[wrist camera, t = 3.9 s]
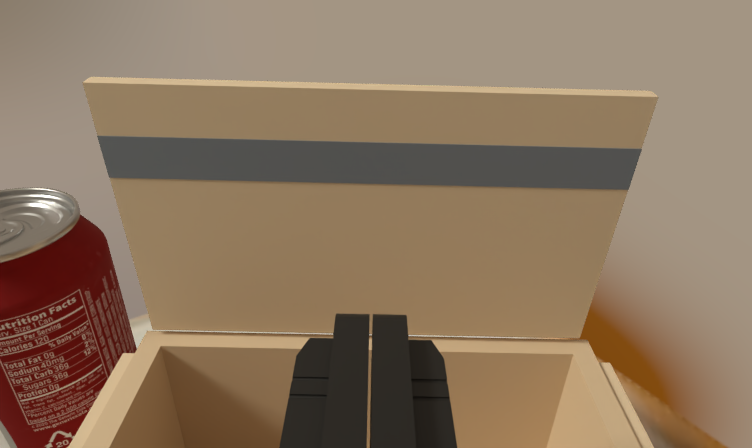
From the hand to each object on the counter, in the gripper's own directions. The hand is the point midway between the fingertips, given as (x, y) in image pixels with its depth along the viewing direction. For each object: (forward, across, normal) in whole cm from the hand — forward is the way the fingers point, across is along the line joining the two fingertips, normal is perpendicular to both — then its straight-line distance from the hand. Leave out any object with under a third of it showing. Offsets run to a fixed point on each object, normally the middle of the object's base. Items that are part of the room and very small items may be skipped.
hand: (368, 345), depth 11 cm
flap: (+7, 0, +6) cm, 9 cm away
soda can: (+8, +14, +14) cm, 22 cm away
